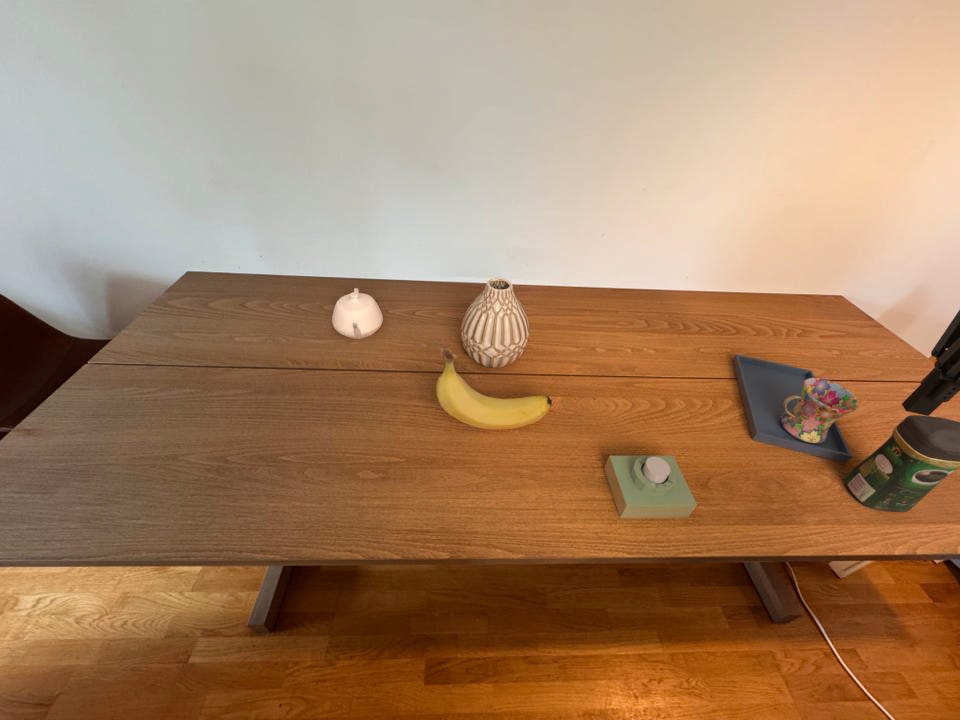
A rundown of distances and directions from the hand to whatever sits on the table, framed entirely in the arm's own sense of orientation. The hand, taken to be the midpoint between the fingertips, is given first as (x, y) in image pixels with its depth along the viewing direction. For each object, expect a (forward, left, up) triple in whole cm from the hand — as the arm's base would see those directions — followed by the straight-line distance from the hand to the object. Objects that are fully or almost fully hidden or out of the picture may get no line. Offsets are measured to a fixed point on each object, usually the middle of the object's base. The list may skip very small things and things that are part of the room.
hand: (914, 409), depth 60 cm
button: (-8, +30, -19) cm, 36 cm away
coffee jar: (+6, -11, -25) cm, 28 cm away
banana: (-2, +60, -25) cm, 65 cm away
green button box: (-8, +30, -24) cm, 39 cm away
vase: (+19, +66, -25) cm, 73 cm away
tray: (+26, 0, -24) cm, 36 cm away
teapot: (+17, +101, -25) cm, 105 cm away
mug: (+18, 0, -24) cm, 30 cm away
